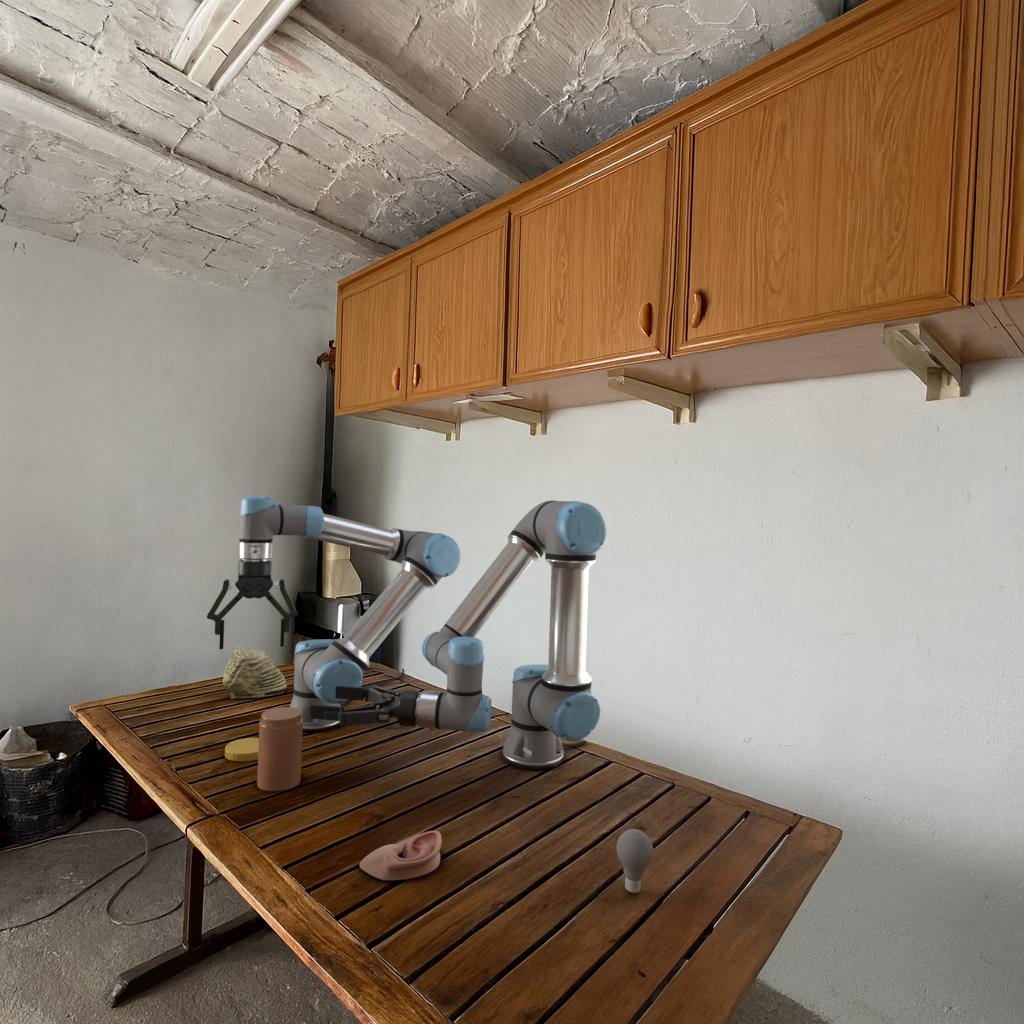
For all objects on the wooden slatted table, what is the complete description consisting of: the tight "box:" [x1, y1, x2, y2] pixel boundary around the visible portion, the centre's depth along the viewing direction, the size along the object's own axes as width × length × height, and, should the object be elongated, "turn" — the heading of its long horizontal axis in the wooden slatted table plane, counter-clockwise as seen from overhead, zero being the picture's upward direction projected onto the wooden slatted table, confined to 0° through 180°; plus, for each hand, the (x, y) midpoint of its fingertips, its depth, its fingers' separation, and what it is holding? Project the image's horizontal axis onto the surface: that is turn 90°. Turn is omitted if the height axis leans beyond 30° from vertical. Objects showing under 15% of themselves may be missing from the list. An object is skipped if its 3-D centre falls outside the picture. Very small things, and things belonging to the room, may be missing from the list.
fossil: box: [222, 646, 288, 699], centre depth 198 cm, size 9×18×15 cm, turn 132°
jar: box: [256, 706, 304, 792], centre depth 140 cm, size 9×9×15 cm
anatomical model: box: [359, 830, 443, 882], centre depth 111 cm, size 13×4×12 cm
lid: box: [223, 737, 259, 763], centre depth 154 cm, size 10×10×2 cm
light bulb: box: [615, 828, 654, 894], centre depth 106 cm, size 6×6×10 cm
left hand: (252, 647), depth 154 cm, fingers open, 13 cm apart
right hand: (323, 701), depth 138 cm, fingers open, 13 cm apart
